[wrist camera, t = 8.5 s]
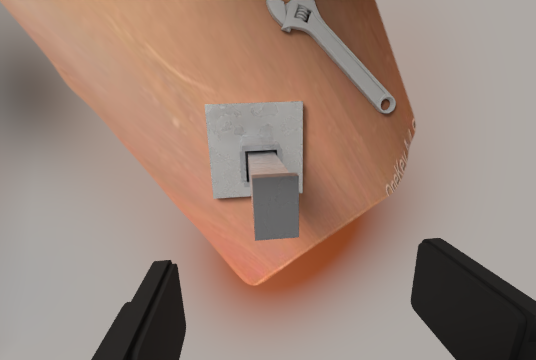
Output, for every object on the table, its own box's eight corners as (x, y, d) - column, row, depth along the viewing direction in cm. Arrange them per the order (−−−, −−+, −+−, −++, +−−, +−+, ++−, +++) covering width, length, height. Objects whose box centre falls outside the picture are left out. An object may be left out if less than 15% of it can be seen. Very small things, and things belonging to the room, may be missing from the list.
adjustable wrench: (394, 104, 42) (400, 104, 40) (363, 132, 42) (368, 133, 41) (289, -38, 35) (291, -46, 33) (254, -1, 36) (255, -6, 34)
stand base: (206, 104, 38) (191, 103, 27) (300, 101, 40) (323, 99, 29) (214, 195, 42) (205, 226, 31) (300, 190, 43) (320, 218, 32)
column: (246, 141, 34) (252, 178, 17) (269, 140, 34) (298, 175, 17) (248, 175, 35) (255, 240, 18) (270, 173, 35) (298, 237, 18)
